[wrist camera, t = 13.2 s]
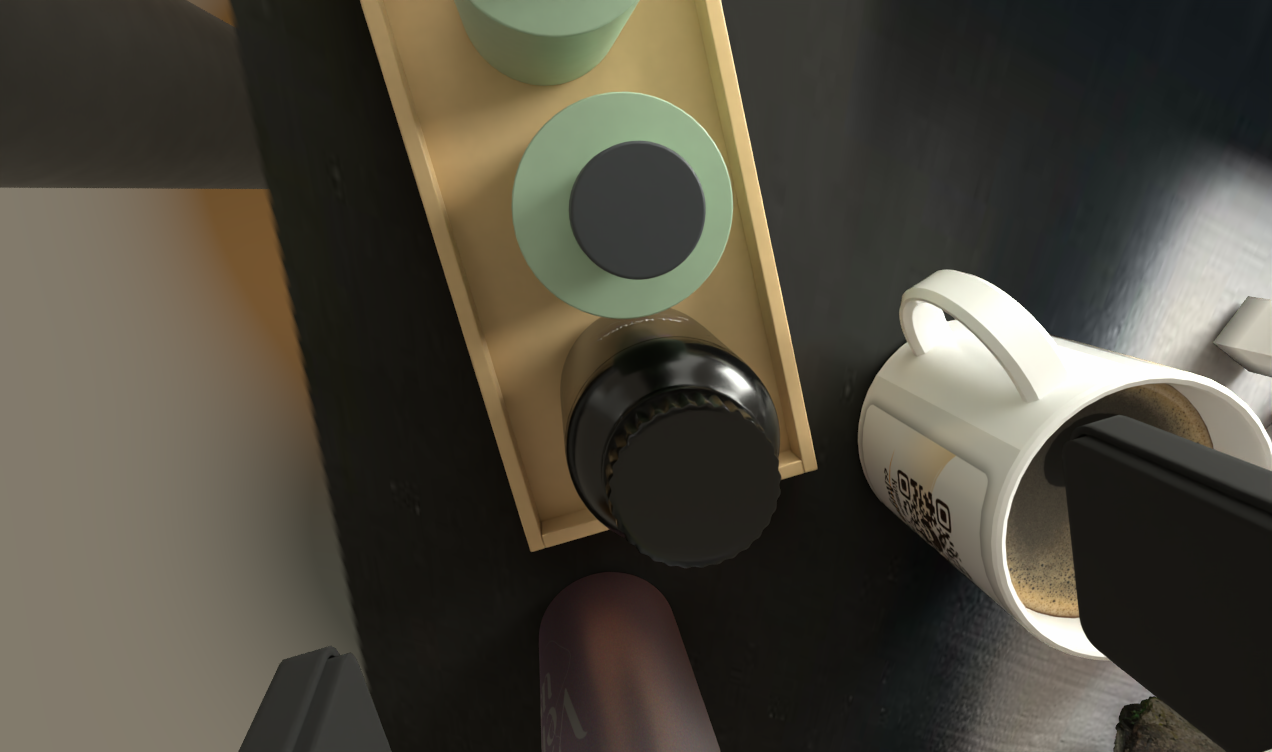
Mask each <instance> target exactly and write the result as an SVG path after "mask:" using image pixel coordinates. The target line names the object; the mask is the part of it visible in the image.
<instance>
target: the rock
mask: <svg viewBox="0 0 1272 752" xmlns="http://www.w3.org/2000/svg"><path fill="white" fill-rule="evenodd" d="M1116 730H1117V733H1116V739H1115V743H1114V744H1115V747H1114V752H1226V751H1225V750H1223V749H1222V748H1221V747H1220V746H1218V745H1217V744H1216V743H1214V742H1213V741H1212V740H1211V739H1209V738H1208V737H1207V736H1206V735H1204V734H1203V733H1202V732H1201V731H1199V730H1198V729H1197V728H1195V727H1194V726H1193V725H1192V724H1190V723H1189V722H1188V721H1187V720H1185V719H1184V718H1183V717H1182V716H1180V715H1179V714H1178V713H1177V712H1175V711H1174V710H1173V709H1171V708H1170V707H1169V706H1168V705H1166V704H1165V703H1164V702H1163V701H1161V700H1160V699H1159V698H1158V697H1154V696H1153V697H1149V699H1145V700H1142V701H1141V703H1140V704H1129V705H1126V706H1124V708H1122V711H1121V713H1120V716H1119V723H1118V724H1117V725H1116Z"/></svg>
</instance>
